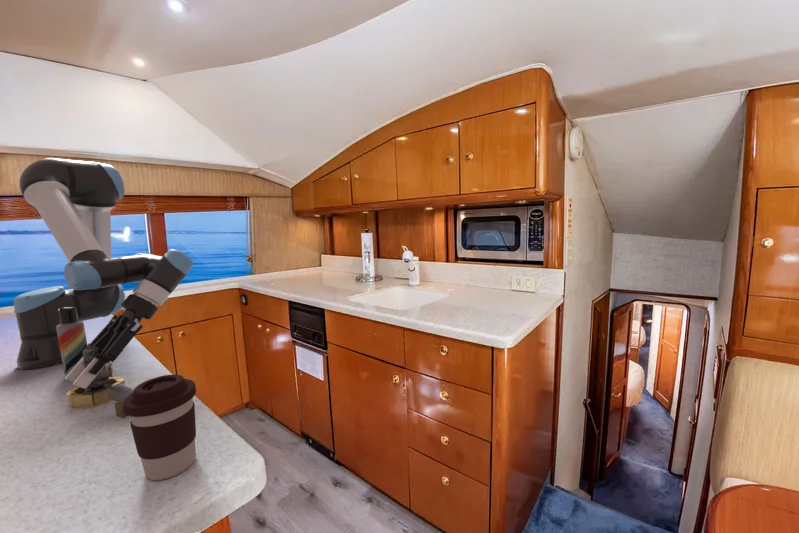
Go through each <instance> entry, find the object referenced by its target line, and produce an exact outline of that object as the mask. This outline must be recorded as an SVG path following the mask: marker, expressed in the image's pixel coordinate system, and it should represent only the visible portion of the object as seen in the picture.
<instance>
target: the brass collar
mask: <svg viewBox="0 0 799 533" xmlns="http://www.w3.org/2000/svg"><path fill="white" fill-rule="evenodd" d="M119 383H120V384H123V385H125V386H126V384H125V379H124V378H123V377H121V376H119V375H117V376H116V375H115V376H109V379H108V381H107V382H106V383H105V384H109V385H111V386H113V385H116V384H119ZM111 386H110V387H111ZM87 389H88V388H86V389H84V388H81V387H78V386H75V387H73V388H71V389H70V390H68V391H67V392H66V397H67V402H68V406H69V407H70V408H72V409H73V410H78V409H79V410H80V409H87V408H94V407H98V406H100V405H102V404H106V403H108V402H111V401H113V400H112V399H110V398H109V397H108V391H107V388H105V389H102V390H99V391H96V392H93V393H85V394H83V392H84V391H85V390H87Z"/></svg>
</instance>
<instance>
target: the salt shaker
mask: <svg viewBox="0 0 799 533" xmlns="http://www.w3.org/2000/svg"><path fill="white" fill-rule="evenodd" d="M90 343H91V342H90ZM90 343H87V345H88V347H87V348H85V349H84V350H83V358H84V362H83V363H82V364H83V365H84V366H85V368H86V367H87V366H88V365H89V364H90V363H91V361H92V360H93V359H94V358H95V357H94V356H95V355H99V352H98V348H97V347H94V346H91V344H90ZM96 359H97V358H96ZM109 375H110V372H109V371H103V369H102V370H101V371H100V372H99V373H98V375H97V376H96V377H95V378H94V379H93V381H92V382H91V383H90V384H89V385H88V387H87V388H88V389H87V390H85V391H84V392H83V394H85V393H93V392H96V391H99V390H102V389H105V388H108V387H110V386H111V385H109V384H105V383H106V382H107V381H108V379H109V377H110V376H109Z"/></svg>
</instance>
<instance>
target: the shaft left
mask: <svg viewBox="0 0 799 533" xmlns="http://www.w3.org/2000/svg"><path fill="white" fill-rule="evenodd" d="M103 371H109V372H110V375H109V377H114V376H113V375H114V368H113V362H109V363H107V364H106V365H105V366H104V367H103Z"/></svg>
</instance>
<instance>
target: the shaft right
mask: <svg viewBox="0 0 799 533" xmlns="http://www.w3.org/2000/svg"><path fill="white" fill-rule="evenodd" d="M134 389H135V388H131V387H130V386H127V385H126V384H125V385H123V384H120V383H119V384H116V385H113V386H111V387H108V388H107V391H108V397H109V398H110V399H112V400H111V401H115V403H113V404H114V408H115V414H116V416H117V417H119V418H121V419H125V418H127V417H129V416H128V415H126V414H125V413H124V410H123V401H124V400H125V398H126V397H127V396H129V395H130V394H132V393H133V391H134Z"/></svg>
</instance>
